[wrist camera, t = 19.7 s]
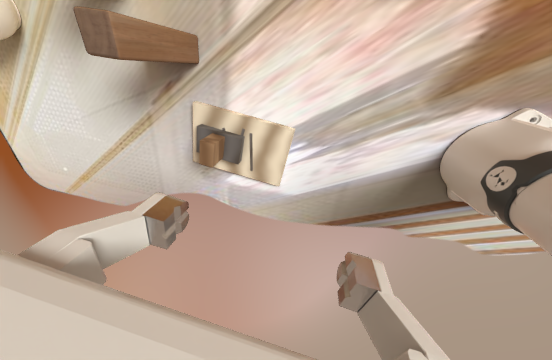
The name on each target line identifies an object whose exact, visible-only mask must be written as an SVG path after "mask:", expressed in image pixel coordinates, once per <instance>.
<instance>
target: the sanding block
mask: <svg viewBox="0 0 552 360" xmlns="http://www.w3.org/2000/svg"><path fill="white" fill-rule="evenodd" d="M244 139H245V136H242V135H238V134H235V133H231V132H228V131H224V130H221V129H217V128H214V127H211V126H207V125H204V124H200V125H198V126H197V141H196V152H198V153H200V155H199V164H202V165H205V166H209V167H212V168H213V167H214V166H215V165H216V164H217V163H218V162H219V161H220V160H225V161H228V162H231V163H235V164H239V163H240V162H241V161H242V153H243V146H244Z"/></svg>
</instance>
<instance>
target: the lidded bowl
mask: <svg viewBox="0 0 552 360" xmlns="http://www.w3.org/2000/svg"><path fill="white" fill-rule="evenodd" d="M20 26H21V16H20V13H19V10H18V8H17V6H16V4H15V2H14V1H13V0H0V40H3V39H6V38H9V37H10V36H12V35H13V34H14V33H15V32H16V30H17V29H19V28H20Z"/></svg>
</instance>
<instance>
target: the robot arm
mask: <svg viewBox="0 0 552 360" xmlns="http://www.w3.org/2000/svg"><path fill="white" fill-rule="evenodd" d="M531 118H533V119H532V120H531V121H530V119H531ZM440 173H441V177H442V179H443V180H444V182H445V183H446V185H447V195H448V197H449V198H450V199H451V200H453V201H460V202H466V203H467V204H468V205H470V206H471V207H472V208H474V209H475V210H476V211H478V212H479V213H480V214H482V215H490V216H496V217H497V218H498V219H499V220H501V221H502V222H503V223H504V224H506V225H508V226H510V227H511V228H512V229H514V230H516V231H518V232H520V233H523V234H525V235H526V236H528V237H529V238H530V239H531V240H533V241H534V242H535V243H536V244H538V245H539V246H540V247H541V248H543V249H544V250H545V251H546V252H548V253H549V254H550V255H551V256H552V119H551V118H549V117H547V116H546V115H544V114H542V113H540V112H538V111H536V110H534V109H531V108H524V109H521V110H519V111H517V112H515V113H513V114H511V115H509V116H508V117H506V118H504V119H501V120H498V121H494V122H490V123H486V124H483V125H481V126H478V127H476V128H474V129H472V130H470V131H468V132H466V133H465V134H463V135H462V136H460V137H459V138H458V139H457V140H456V141H455V142H453V143H452V145H451V146H450V147H449V148H448V149H447V151H446V152H445V154H444V156H443V158H442V161H441V164H440ZM188 205H189V204H188V202H187V201H184V200H181V199H178V198H175V197H172V196H169V195H166V194H163V193H160V192H159V193H155V194H154V195H153V196H151V197H150V198H149V199H147V200H146V201H144V202H143V203H142V204H140V205H139V206H138V207H136V208H135V209H134V210H132V211H131V212H130V211H126V212H122V213H118V214H115V215H111V216H107V217H104V218H100V219H96V220H93V221H89V222H86V223H82V224H78V225H75V226H71V227H68V228H64V229H61V230H58V231H56V232H54V233H53V234H51V235H49V236H48V237H46V238H45V239H43V240H41V241H40V242H38V243H36V244H35V245H33V246H31V247H30V248H28V249H27V250H25V251H23V252H22V253H20V254H18V255H14V254H11V253H8V252H5V251H2V250H0V360H317V359H314V358H311V357H309V356H306V355H303V354H300V353H297V352H294V351H291V350H288V349H286V348H283V347H280V346H277V345H274V344H271V343H268V342H265V341H262V340H260V339H257V338H254V337H251V336H248V335H245V334H242V333H239V332H236V331H234V330H231V329H228V328H225V327H222V326H219V325H216V324H213V323H211V322H207V321H205V320H202V319H199V318H196V317H193V316H190V315H188V314H185V313H181V312H179V311H176V310H173V309H170V308H167V307H164V306H162V305H158V304H156V303H153V302H150V301H147V300H144V299H141V298H138V297H135V296H133V295H130V294H127V293H124V292H121V291H118V290H115V289H112V288H109V287H107V286H104V285H103V284H104V283H105V282H106V276H105V274H104V271H103V269H104V268H106V267H108V266H110V265H112V264H114V263H116V262H118V261H120V260H122V259H124V258H126V257H128V256H130V255H132V254H134V253H136V252H138V251H140V250H142V249H143V248H146V247H147V246H149V245H154V246H157V247H160V248H164V249H167V248H168V247H169V246H170V245H171V244H172V243H173V241H175V239H176V234H178V233H180V232H182V231H183V230H184V229H185V227H186V225H187V223H188V220H189V214H188V212H187V211H186V210H187V209H188V208H189V206H188ZM337 283H338V284H339V286H340V289H339V290H338V299H339V306H341V307H344V308H346V309H349V310H352V311H355V312H357V313H358V316H359V318H360V319H361V321H362V323H363V325H364V327H365V329H366V331H367V332H368V334H369V336H370V338H371V340H372V342H373V344H374V346H375V347H376V349H377V351H378V353H379V355H380V357H381V359H382V360H450V359H449V358H448V357H447V355H446V354H445V353H444V352H443V351H442V349H441V348H440V347H439V346H438V345H437V344H436V342H435V341H434V340H433V339H432V338H431V336H430V335H429V334H428V333H427V332H426V331H425V330H424V328H423V327H422V326H421V325H420V323H418V321H417V320H416V319H415V317H414V316H413V315H412V314H411V313H410V312H409V310H408V309H407V308H406V307H405V306H404V305H403V303H402V302H401V301H400V300H399V299H398V297H395V296H394V295H393V292H392V289H391V286H390V283H389V280H388V277H387V274H386V271H385V268H384V265H383V263H382V262H381V261H378V260H375V259H371V258H368V257H365V256H362V255H358V254H355V253H352V252H348V253H347V254H346V255H345V261H343V262H341V263H340V265H339V267H338V271H337Z"/></svg>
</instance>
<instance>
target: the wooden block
mask: <svg viewBox="0 0 552 360" xmlns="http://www.w3.org/2000/svg"><path fill="white" fill-rule="evenodd" d="M74 13H75V16H76V19H77V22H78V25H79V29H80V32H81V35H82V38H83V42H84V45H85V48H86V51H87V53H89V54H91V55H94V56H100V57H106V58H112V59H118V60H135V61H155V62H174V63H194V64H197V63H199V52H198V38H197V36H196V35H193V34H190V33H186V32H182V31H179V30H175V29H172V28H168V27H165V26H161V25H157V24H154V23H150V22H147V21H143V20H140V19H136V18H133V17H129V16H126V15H122V14H118V13H115V12H111V11H108V10H100V9H93V8H86V7H78V6H77V7H74Z"/></svg>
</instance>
